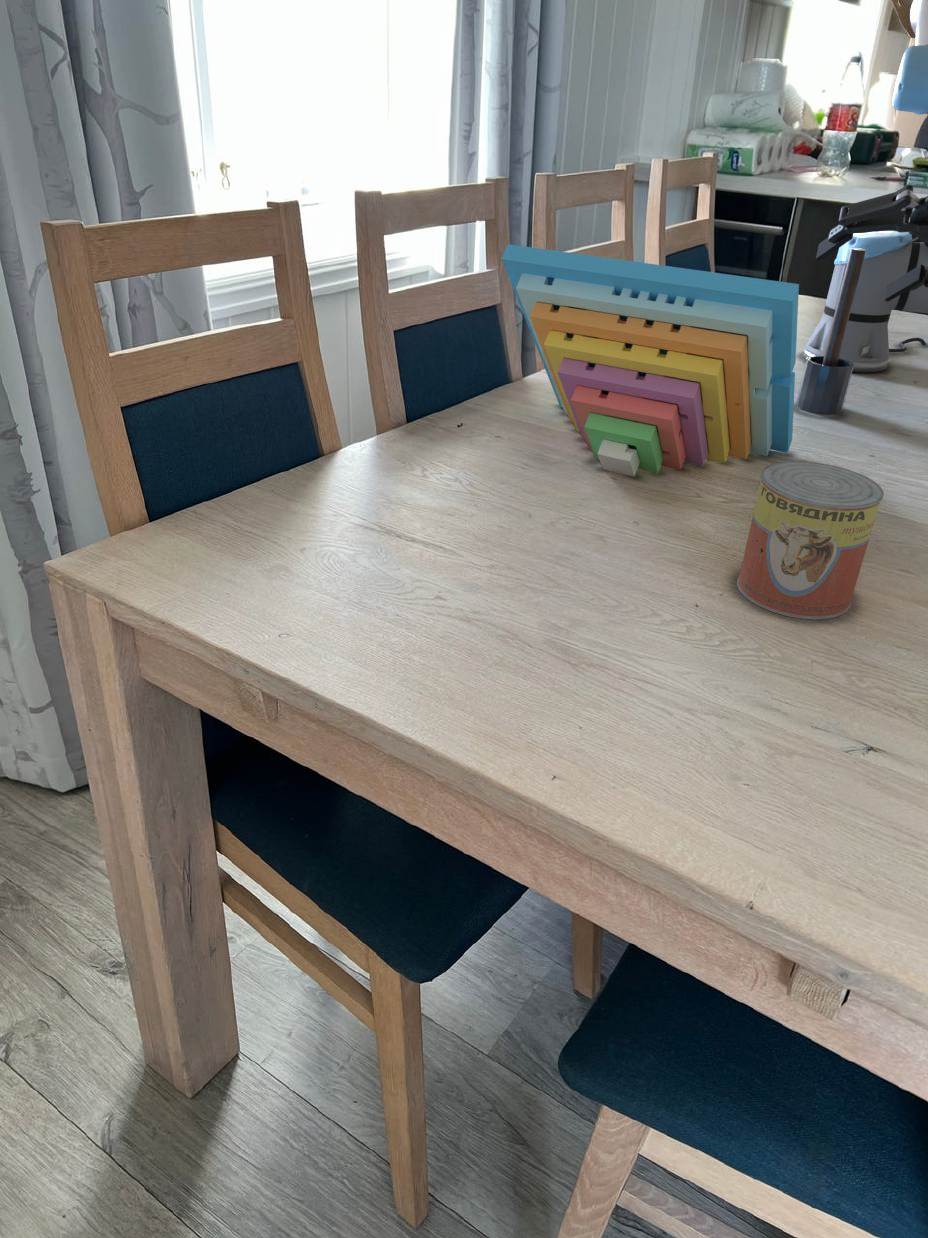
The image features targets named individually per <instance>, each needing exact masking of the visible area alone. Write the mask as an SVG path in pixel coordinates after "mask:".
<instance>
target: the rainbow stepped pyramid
mask: <svg viewBox="0 0 928 1238" xmlns="http://www.w3.org/2000/svg"><path fill="white" fill-rule="evenodd" d="M501 261H502V263H503V266H504V269H505V271H506V273H507V276H508V278H509V281H510V284H511V286H512V289H513V292H514V294H515V296H516V299H517V301H518V305H519V306H520V309H521V311H522V314H523V316H524V317H523V318H524V320H525V322H526V324H527V327H528V329H529V332H530V334H531V336H532V339H533V342H534V344H535V347H536V349H537V352H538V355H539V357H540V359H541V362H542V364H543V368H544V370H545V372H546V374H547V377H548V380H549V382H550V385H551V387H552V390H553V392H554V395H555V397H556V401H557V402H558V403H557V404H558V405H559V407H561V408H562V409H563V412H564V414H565V415H567V417H568V419H569V421H570V423H573V425H574V428H575V430H576V431H577V432H579V434H580V437H581V439H582V440H583V441H585V443H586V445H587V447H588V450H591V451H592V453H593V455H594V458H595V460H599V463H600V466H601V468H602V470H603V471H609V472H613V473H617V474H621V475H625V476H630V477H633V478H634V477H636V474H637V472H638V470H642V471H648V472H651V473H656V474H659V472H660V469H661V467H662V466H664V467H668V468H673V469H677V470H682V468H683V466H684V463H688V464H692V465H697V466H701V467H704V466H705V463H706V460H711V461H715V462H720V463H724V464H725V463H726V461H727V459H728V457H733V458H738V459H742V460H747V459H748V456H749V454H750V453H751V454H755V455H758V456H759V455H760V456H764V457H768V455H769V452H770V450H771V451H776V452H781V453H785V454H788V453H789V450H790V447H791V445H792V441H793V433H794V432H793V430H794V408H795V407H794V405H795V404H794V403H795V387H796V386H795V383H796V372H795V371H794V368H795V365H796V360H797V339H798V318H799V317H798V314H799V293H800V292H799V291H800V284H799V283H794V282H785V281H780V280H779V281H778V280H770V279H765V278H757V277H749V276H742V275H735V274H729V273H728V274H727V273H720V272H713V271H706V270H699V269H691V268H686V267H685V268H684V267H678V266H677V267H676V266H670V265H663V264H657V263H656V264H655V263H648V262H641V261H634V260H625V259H618V258H611V257H604V256H599V255H598V256H596V255H590V254H583V253H575V252H567V251H560V250H553V249H547V248H538V247H532V246H525V245H516V244H509V243H508V244H507V246H506V248H505V250H504V253H503V255H502V258H501Z"/></svg>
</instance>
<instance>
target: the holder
mask: <svg viewBox="0 0 928 1238" xmlns="http://www.w3.org/2000/svg"><path fill="white" fill-rule="evenodd" d="M823 359H824V356H810V357H808V358H807V360H806V359H805V363H804V368H803V373H802V377H801V381H800V386H799V389H798V394H797V398H796V403H795V406H796V407H797V408H798V409H800V410H802V411H804V412H807V413H811V414H816V415H822V416H823V415H824V416H835V415H836V416H837V415H839V414H841V413H842V412H843V409H844V405H845V401H846V398H847V394H848V390H849V386H850V382H851V379H852V375H853V372H852V371H853V367H854V364H853V363H852V362H850V361H848V360H845V359H841V358H839V359H838V363H837V367H832V366H825V365H822V363H823Z"/></svg>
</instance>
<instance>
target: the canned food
mask: <svg viewBox="0 0 928 1238" xmlns="http://www.w3.org/2000/svg"><path fill="white" fill-rule="evenodd" d="M884 495H885V492H884V490H883V488H882V487H881V486H880V484H878V483H877V482H876V481H874V480H873V479H871V478H869V477H868V476H866V475H863V474H861V473H860V472H856V471H853V470H851V469H848V468H844V467H840V466H837V465H832V464H828V463H821V462H814V461H813V462H812V461H801V460H800V461H799V460H794V461H781V462H780V461H779V462H776V463H772V464H769V465H767V466H765V467H764V468H763V469H762V471H761V473H760V482H759V487H758V491H757V495H756V501H755V505H754V509H753V512H752V518H751V521H750V527H749V531H748V536H747V540H746V544H745V548H744V553H743V557H742V562H741V565H740V570H739V575H738V577H737V580H736V586H737V588H738V590H739V592H740V593H741V595H743V597H744V598H746V599H747V600H748V601H749V602H751V603H753V604H754V605H755V606H758V607H759V608H762V609H764V610H766V611H769V612H772V613H774V614H778V615H781V616H785V617H789V618H794V619H800V620H813V621H814V620H828V619H833V618H837V617H840V616H842V615H844V614H846V613H847V612H848V611H849V610H850V608H851V606H852V599H853V595H854V592H855V589H856V585H857V581H858V578H859V575H860V572H861V568H862V565H863V562H864V558H865V555H866V551H867V548H868V546H869V542H870V538H871V534H872V532H873V528H874V525H875V521H876V518H877V515H878V511H879V508H880V505H881V501H882V500H883V498H884Z"/></svg>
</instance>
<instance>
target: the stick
mask: <svg viewBox="0 0 928 1238" xmlns="http://www.w3.org/2000/svg"><path fill="white" fill-rule="evenodd" d="M865 252H866V250H865V249H860V248H851V249H850V252H849V256H848V260H847V264H846V268H845V273H844V277H843V281H842V285H841V289H840V293H839V297H838V301H837V305H836V309H835V314H834V318H833V322H832V326H831V330H830V334H829V338H828V342H827V346H826V350H825V355H824V359H823V363H822V365H825V366H832V367H837V363H838V359H839V355H840V351H841V347H842V343H843V339H844V336H845V332H846V328H847V324H848V320H849V316H850V312H851V308H852V304H853V300H854V296H855V292H856V288H857V284H858V280H859V276H860V272H861V268H862V264H863V260H864V256H865Z"/></svg>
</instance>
